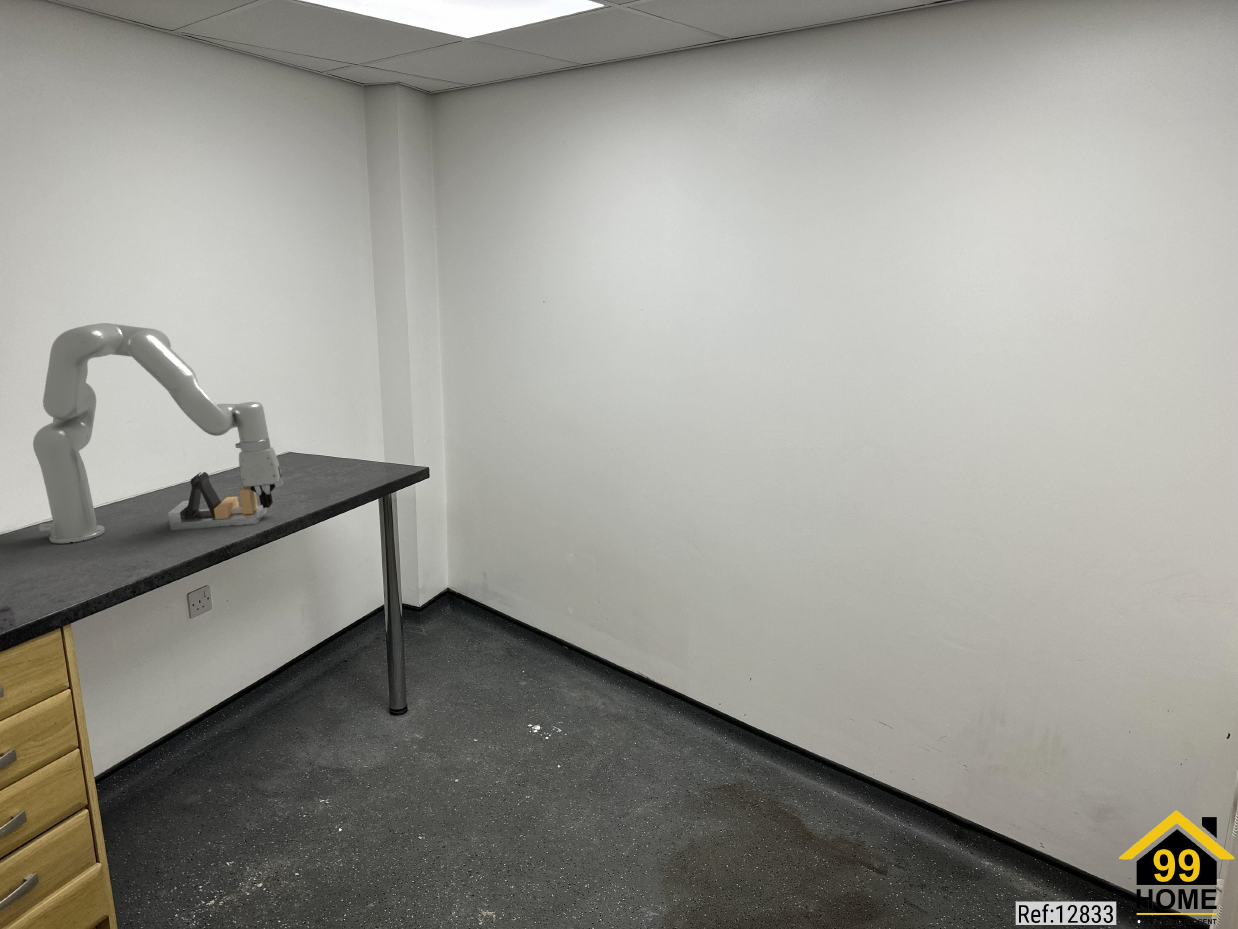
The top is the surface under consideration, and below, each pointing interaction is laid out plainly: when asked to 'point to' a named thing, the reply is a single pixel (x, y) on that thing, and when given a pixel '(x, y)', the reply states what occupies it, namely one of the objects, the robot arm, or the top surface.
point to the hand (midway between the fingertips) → (267, 506)
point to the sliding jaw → (237, 504)
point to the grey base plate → (221, 520)
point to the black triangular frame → (200, 486)
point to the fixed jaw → (178, 513)
